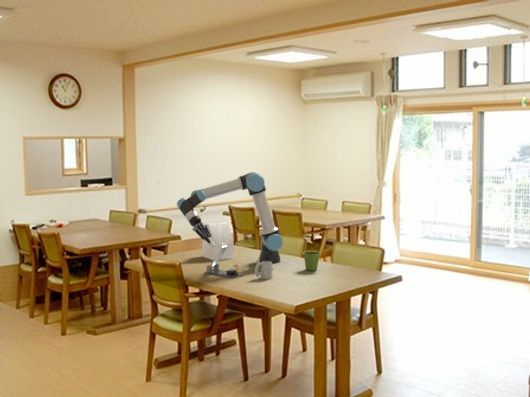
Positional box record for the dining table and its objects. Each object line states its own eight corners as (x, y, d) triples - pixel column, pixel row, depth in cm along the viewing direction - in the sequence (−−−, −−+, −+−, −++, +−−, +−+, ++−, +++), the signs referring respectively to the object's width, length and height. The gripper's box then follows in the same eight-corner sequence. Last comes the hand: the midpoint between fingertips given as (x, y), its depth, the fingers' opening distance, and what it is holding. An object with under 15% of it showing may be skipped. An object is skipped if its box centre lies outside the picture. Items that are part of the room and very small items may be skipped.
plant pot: (299, 270, 397) (299, 253, 396) (306, 267, 408) (307, 250, 407) (316, 272, 392) (316, 255, 391) (323, 269, 402) (323, 252, 401)
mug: (274, 278, 375) (275, 259, 374) (257, 280, 370) (257, 261, 369) (269, 276, 382) (269, 257, 381) (252, 277, 377) (252, 258, 376)
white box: (202, 256, 445) (202, 222, 442) (220, 254, 453) (220, 220, 450) (214, 260, 429) (214, 225, 426) (233, 258, 437) (233, 224, 434)
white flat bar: (210, 268, 389) (208, 267, 390) (215, 267, 393) (213, 265, 394) (223, 247, 382) (221, 246, 383) (228, 246, 386) (226, 244, 387)
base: (204, 273, 389) (204, 262, 388) (213, 270, 397) (213, 259, 397) (234, 278, 376) (234, 266, 375) (243, 275, 384) (243, 263, 384)
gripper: (196, 221, 404) (216, 248, 396) (183, 223, 393) (204, 251, 386) (202, 213, 400) (223, 241, 393) (189, 215, 390) (210, 244, 382)
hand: (213, 246), depth 389 cm, fingers closed
